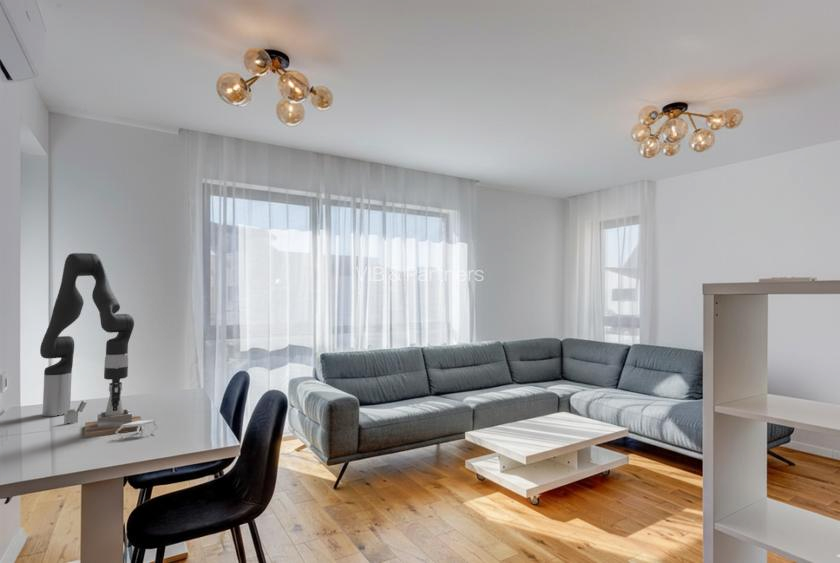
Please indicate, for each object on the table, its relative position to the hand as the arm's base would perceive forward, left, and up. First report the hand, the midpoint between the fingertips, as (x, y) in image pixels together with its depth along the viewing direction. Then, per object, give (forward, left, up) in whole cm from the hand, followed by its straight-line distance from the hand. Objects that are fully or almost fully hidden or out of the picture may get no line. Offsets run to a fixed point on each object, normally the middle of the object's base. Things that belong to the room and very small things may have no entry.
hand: (114, 410), depth 170 cm
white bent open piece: (+17, +6, -7) cm, 19 cm away
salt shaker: (0, 0, -3) cm, 3 cm away
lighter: (-19, -12, -7) cm, 24 cm away
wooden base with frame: (0, 0, -7) cm, 7 cm away
